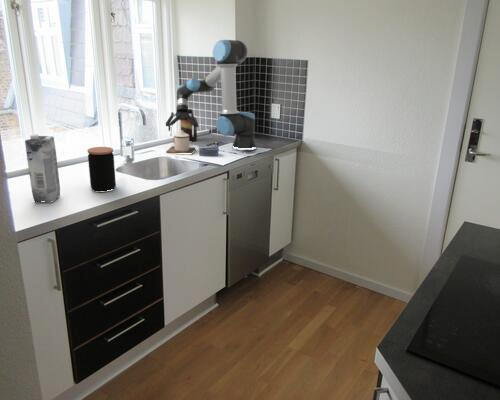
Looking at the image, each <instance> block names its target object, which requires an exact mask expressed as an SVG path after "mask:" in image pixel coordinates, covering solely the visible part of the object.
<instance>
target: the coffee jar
mask: <svg viewBox="0 0 500 400" xmlns="http://www.w3.org/2000/svg"><path fill="white" fill-rule="evenodd" d="M113 152H114V149H113V148H112V147H108V146H95V147H94V146H93V147H90V148H88V149H87V153H88V154H87V159H88V160H87V162H88V171H89V183H90V188H91V190H92V191H93V190H94V191H93V192H95V191H107V190H111V189H114V190H115V188H116V187H117V185H116V183H117V182H116V170H115V167H116V166H115V158H114V157H115V156H114V153H113Z"/></svg>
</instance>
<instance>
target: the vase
mask: <svg viewBox="0 0 500 400" xmlns="http://www.w3.org/2000/svg"><path fill="white" fill-rule="evenodd" d="M188 113H189V114H191V113H193V114H194V110H193V109H191V108H190V109H189V108H188ZM189 119H190V120H191V121H192V122H193V123H194V121H193V120H192V118H191V117H190V116H189ZM195 119H196V121H197V122H198V120H197V117H195ZM194 124H195V123H194ZM180 131H184V132H185V133H186V134H189V136H190V137H189V141H194V142H197V141H196V140H198V127H196V128H195V132H194V137H192V125H191V124H190V123H189V122H188V121H186V120H180Z"/></svg>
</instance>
